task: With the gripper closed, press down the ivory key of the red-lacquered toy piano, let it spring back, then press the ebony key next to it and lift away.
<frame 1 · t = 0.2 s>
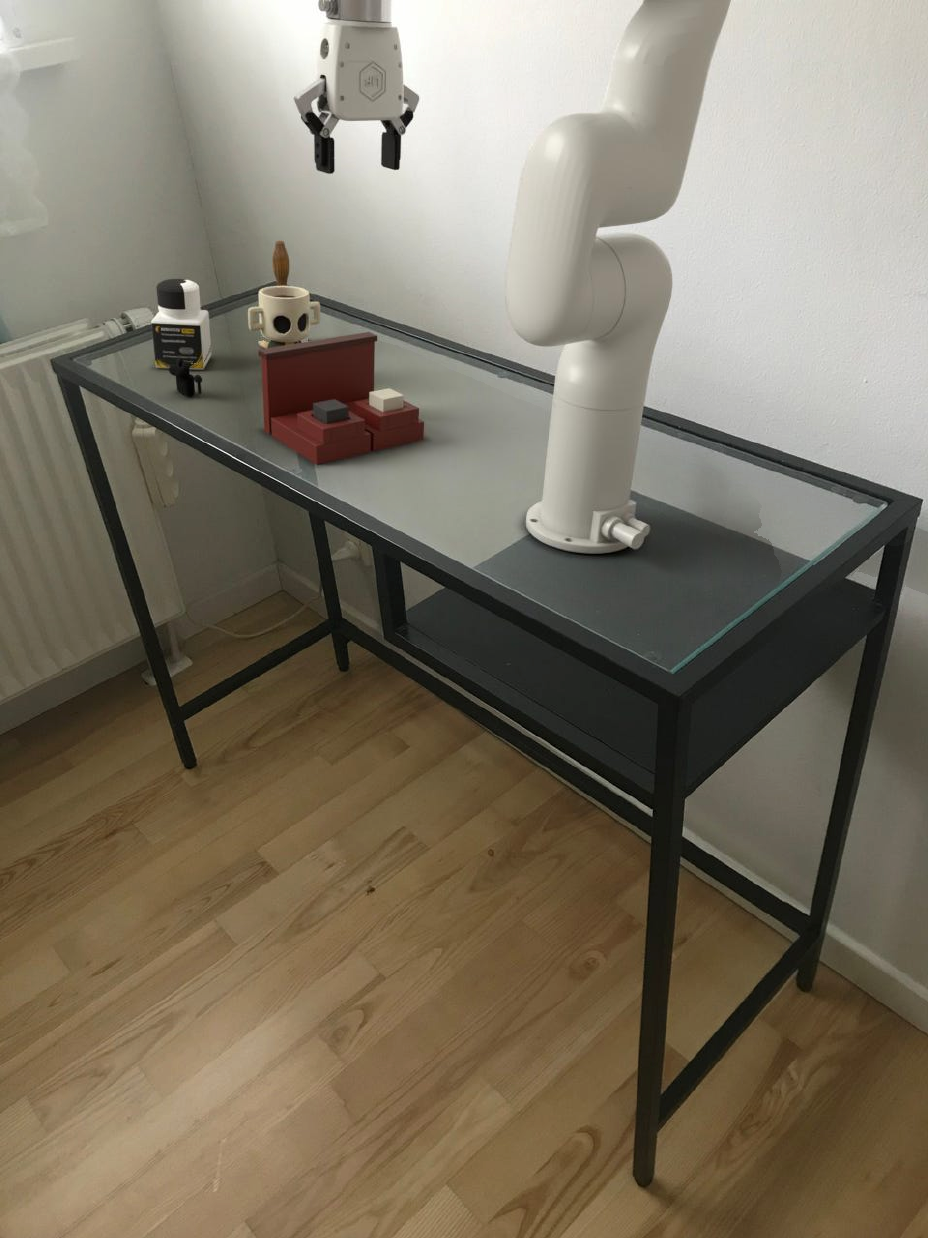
hand: (358, 169, 130), 31 cm above the table, tool pointing down, fingers open, 9 cm apart
medicine bottle: (184, 363, 158), on the table
hand bell: (284, 345, 169), on the table
character mug: (286, 382, 153), on the table
ebony key: (330, 412, 129), point 5 cm above the table, slide at 0.1 cm
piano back: (320, 421, 140), on the table
piano left: (320, 444, 134), on the table
piano right: (374, 431, 138), on the table
ivory key: (386, 400, 134), point 5 cm above the table, slide at 0.1 cm
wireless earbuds: (183, 396, 146), on the table
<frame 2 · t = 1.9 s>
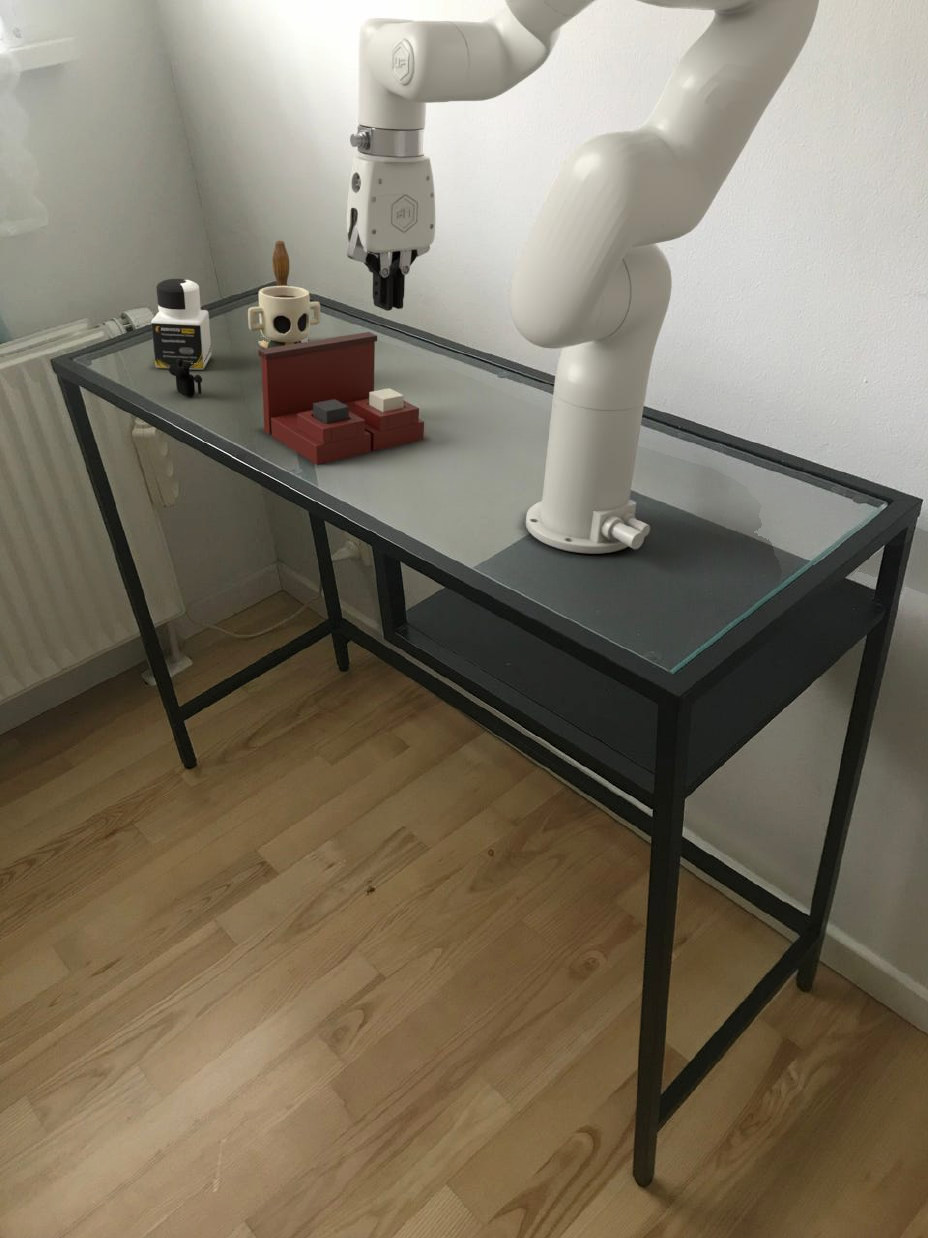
hand: (388, 306, 128), 17 cm above the table, tool pointing down, fingers closed
nothing on the table moved.
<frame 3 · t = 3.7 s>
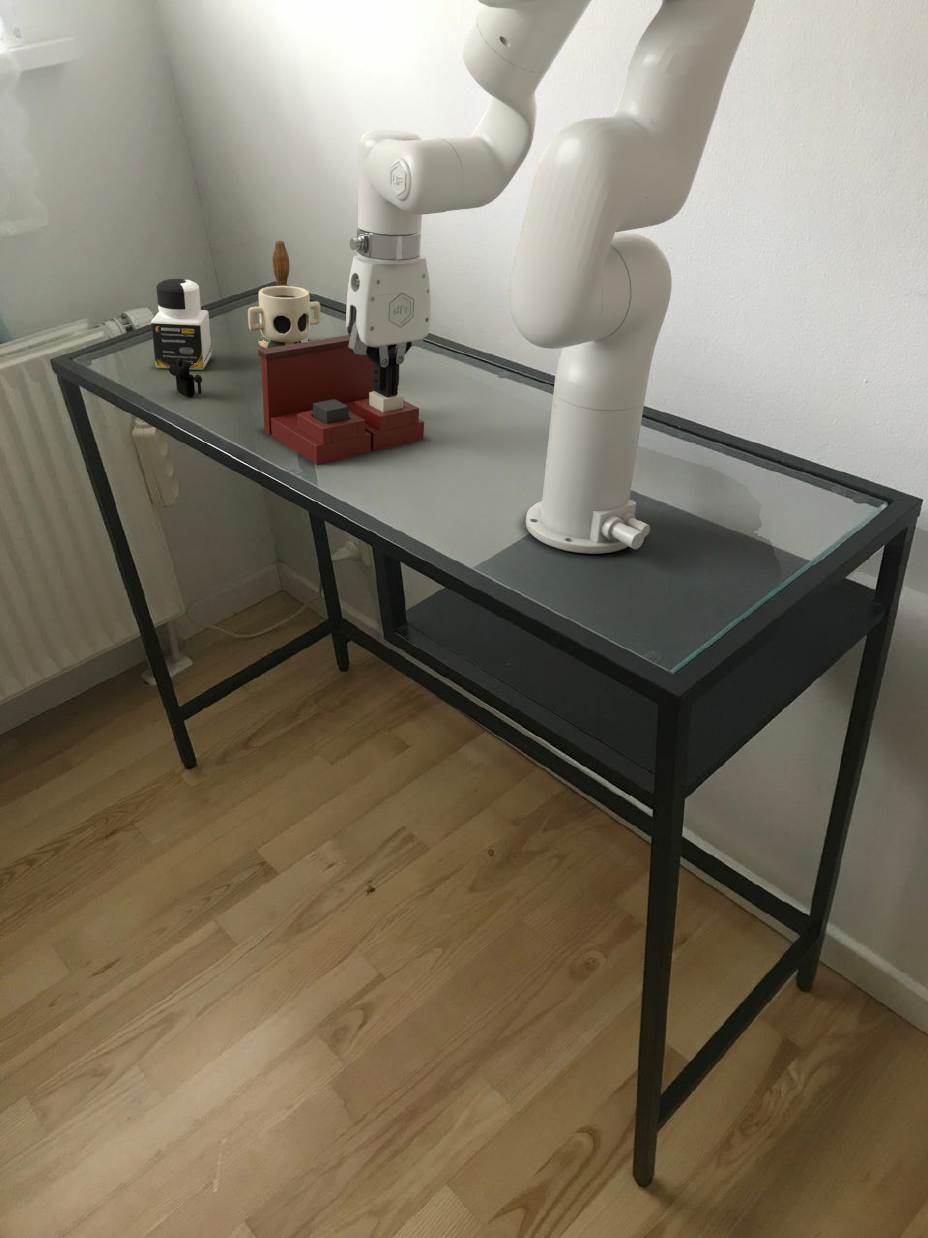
hand: (385, 392, 134), 6 cm above the table, tool pointing down, fingers closed
ivory key: (386, 400, 134), point 5 cm above the table, slide at 0.1 cm, touching gripper
everything else where it was.
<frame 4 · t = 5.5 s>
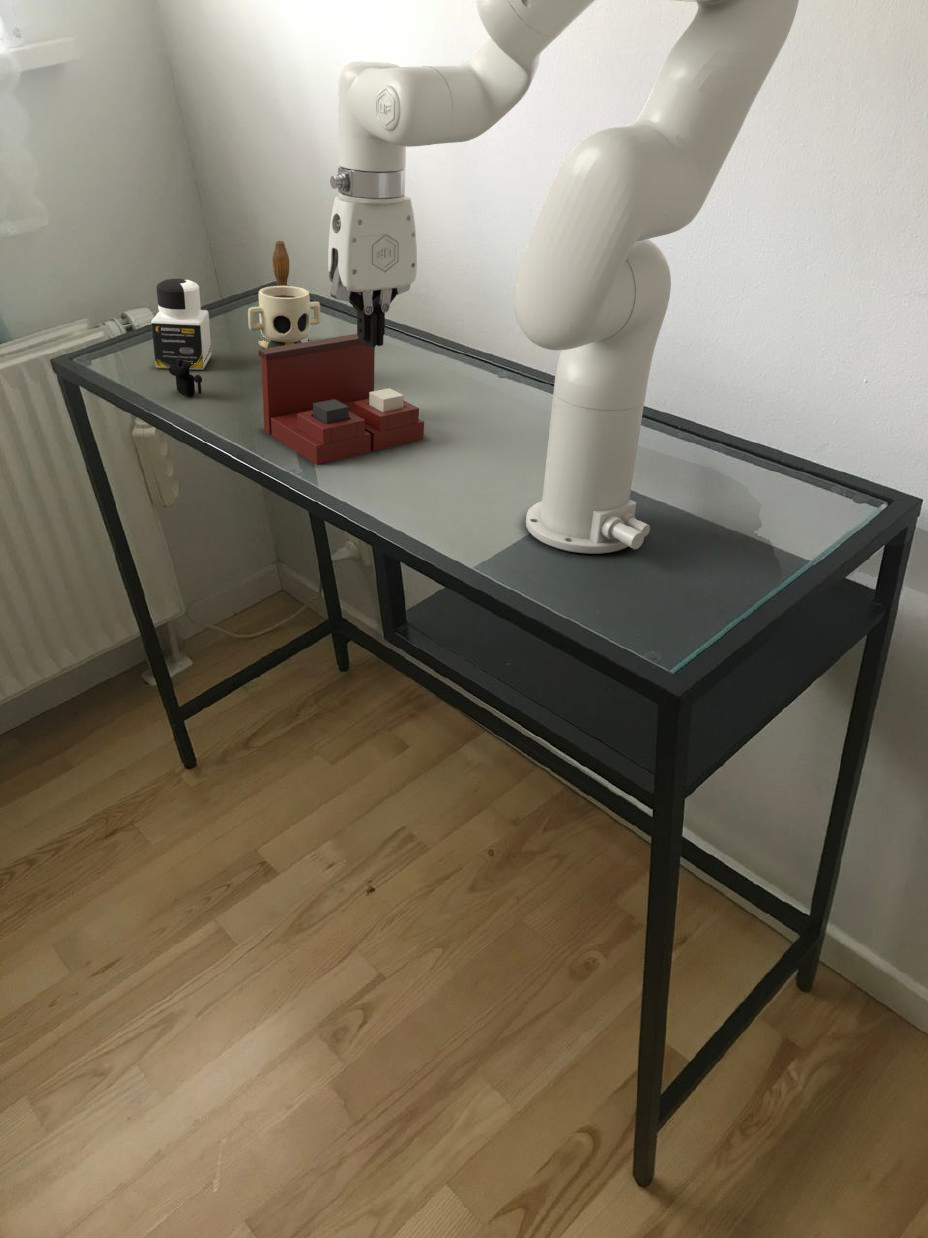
hand: (370, 343, 128), 13 cm above the table, tool pointing down, fingers closed
ivory key: (386, 400, 134), point 5 cm above the table, slide at 0.1 cm
everything else where it was.
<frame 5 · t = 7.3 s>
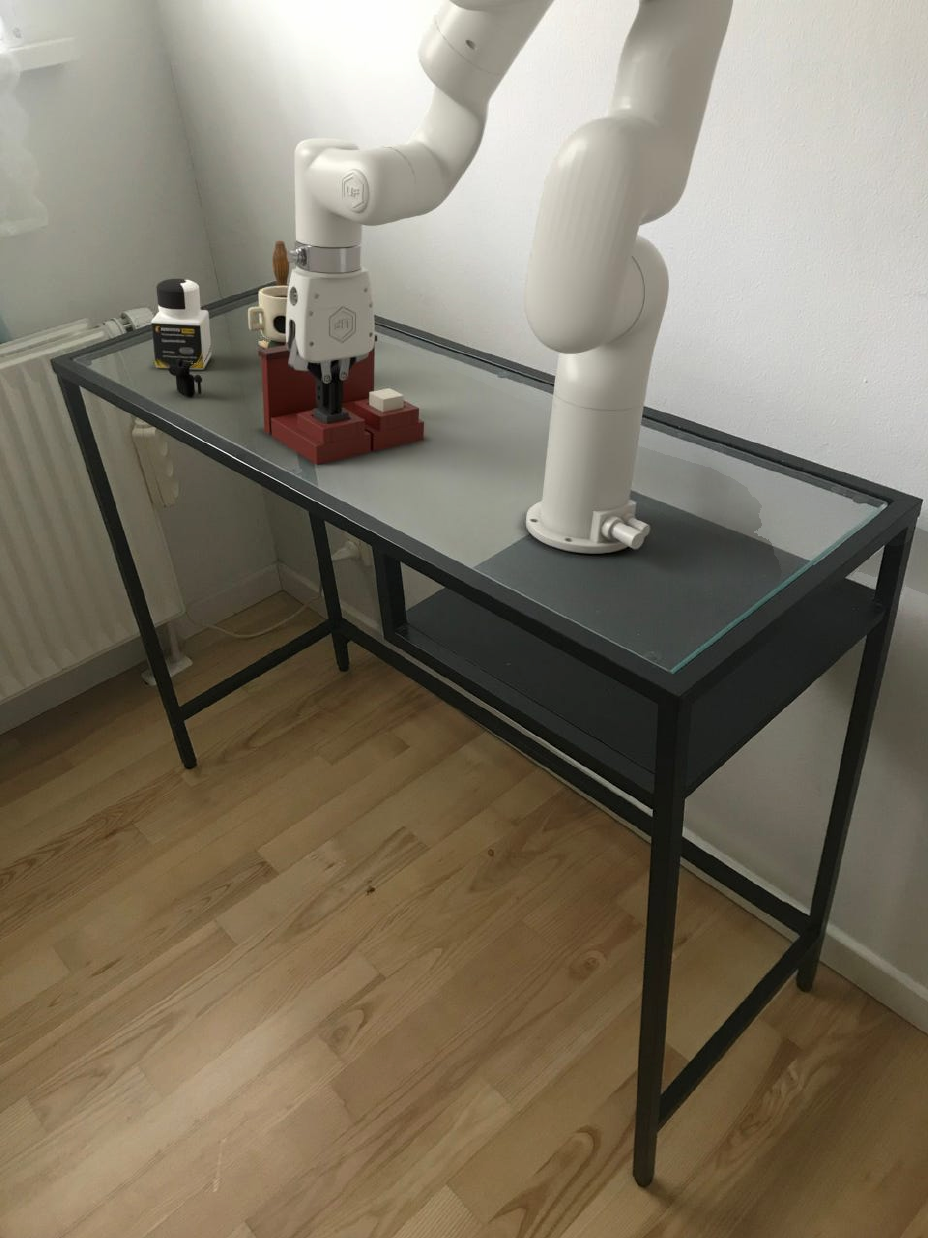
hand: (329, 409, 129), 5 cm above the table, tool pointing down, fingers closed
ebony key: (331, 417, 130), point 4 cm above the table, slide at -0.6 cm, touching gripper
everything else where it was.
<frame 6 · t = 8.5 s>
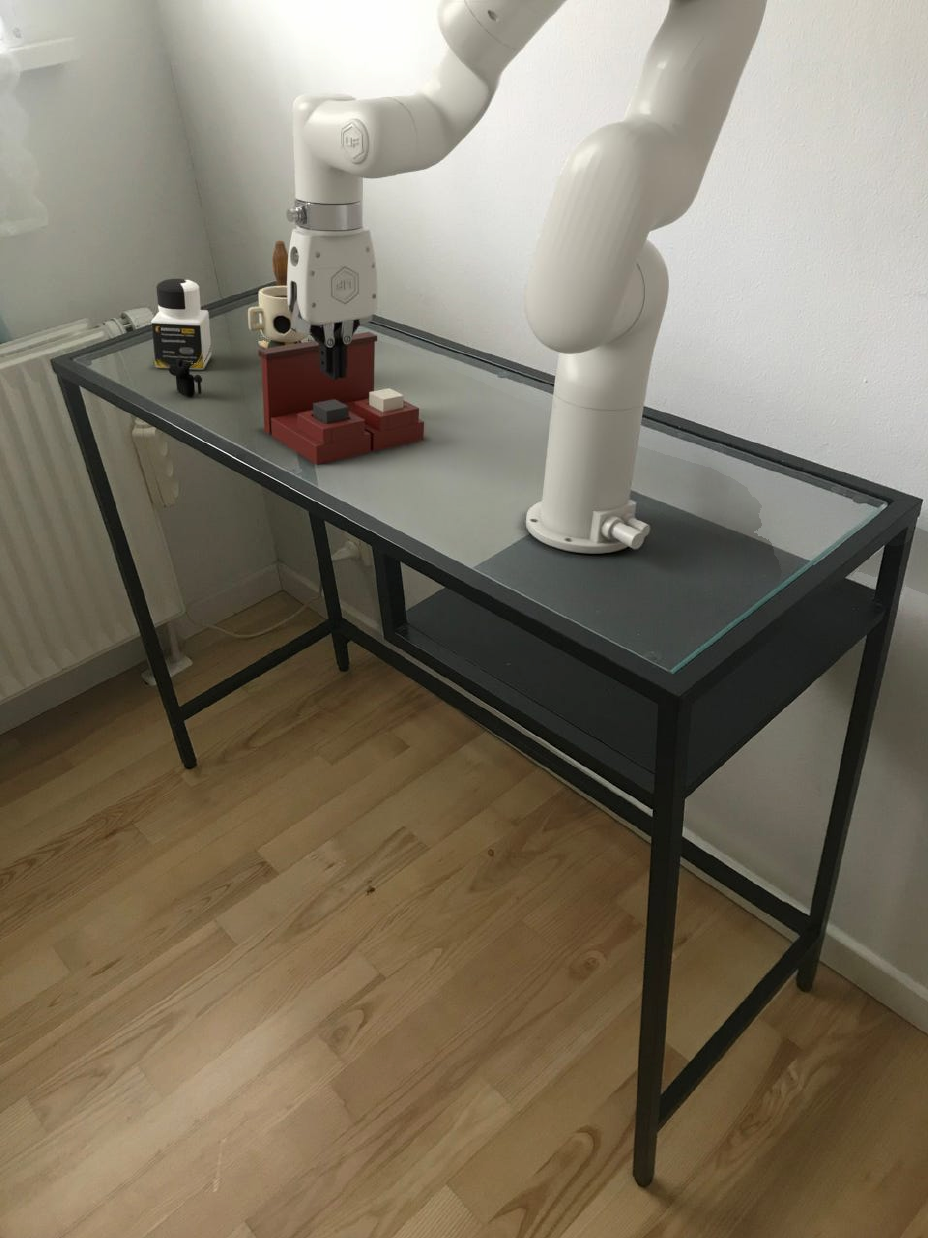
hand: (333, 375, 127), 10 cm above the table, tool pointing down, fingers closed
ebony key: (330, 412, 129), point 5 cm above the table, slide at 0.1 cm
everything else where it was.
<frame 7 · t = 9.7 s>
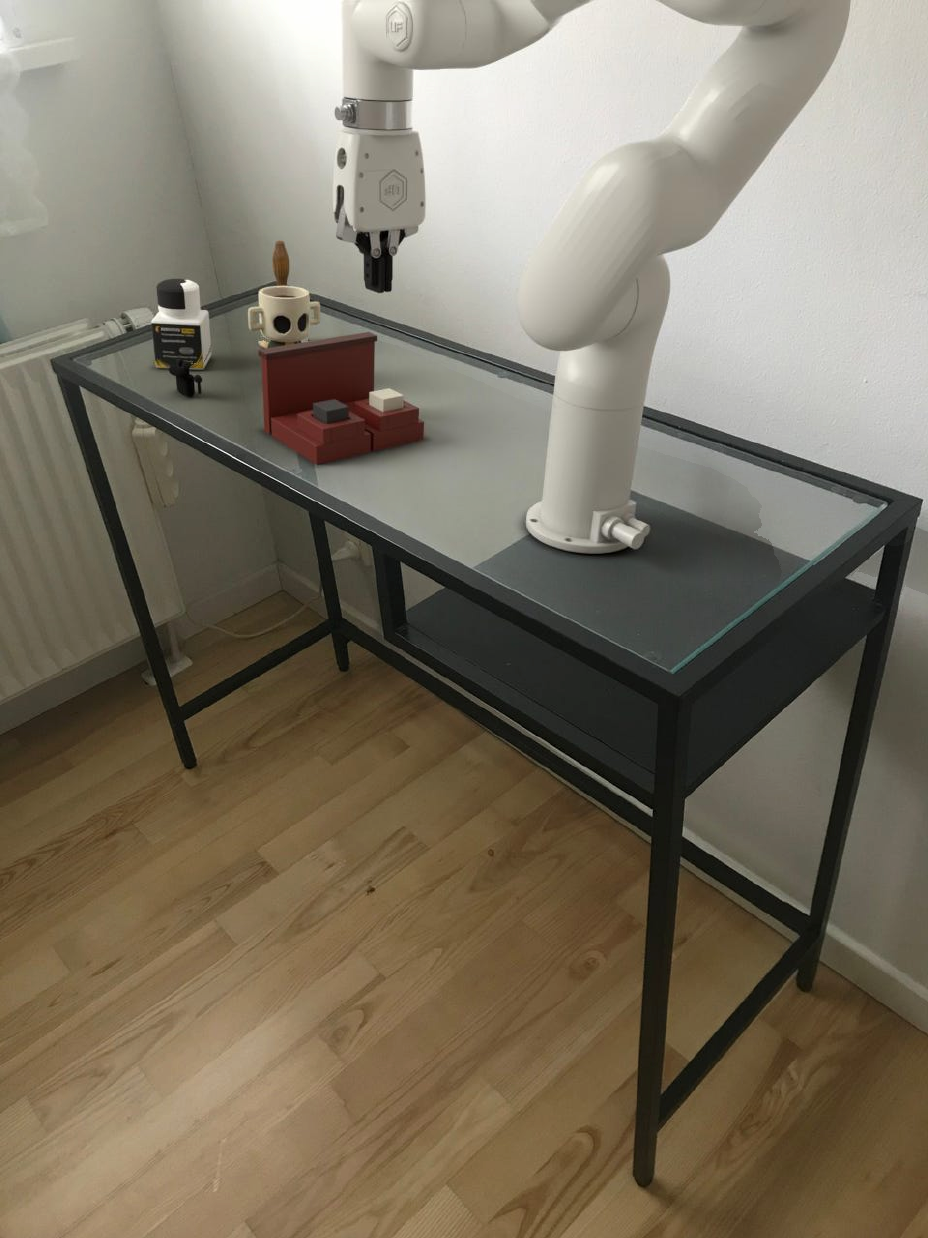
hand: (378, 289, 122), 20 cm above the table, tool pointing down, fingers closed
nothing on the table moved.
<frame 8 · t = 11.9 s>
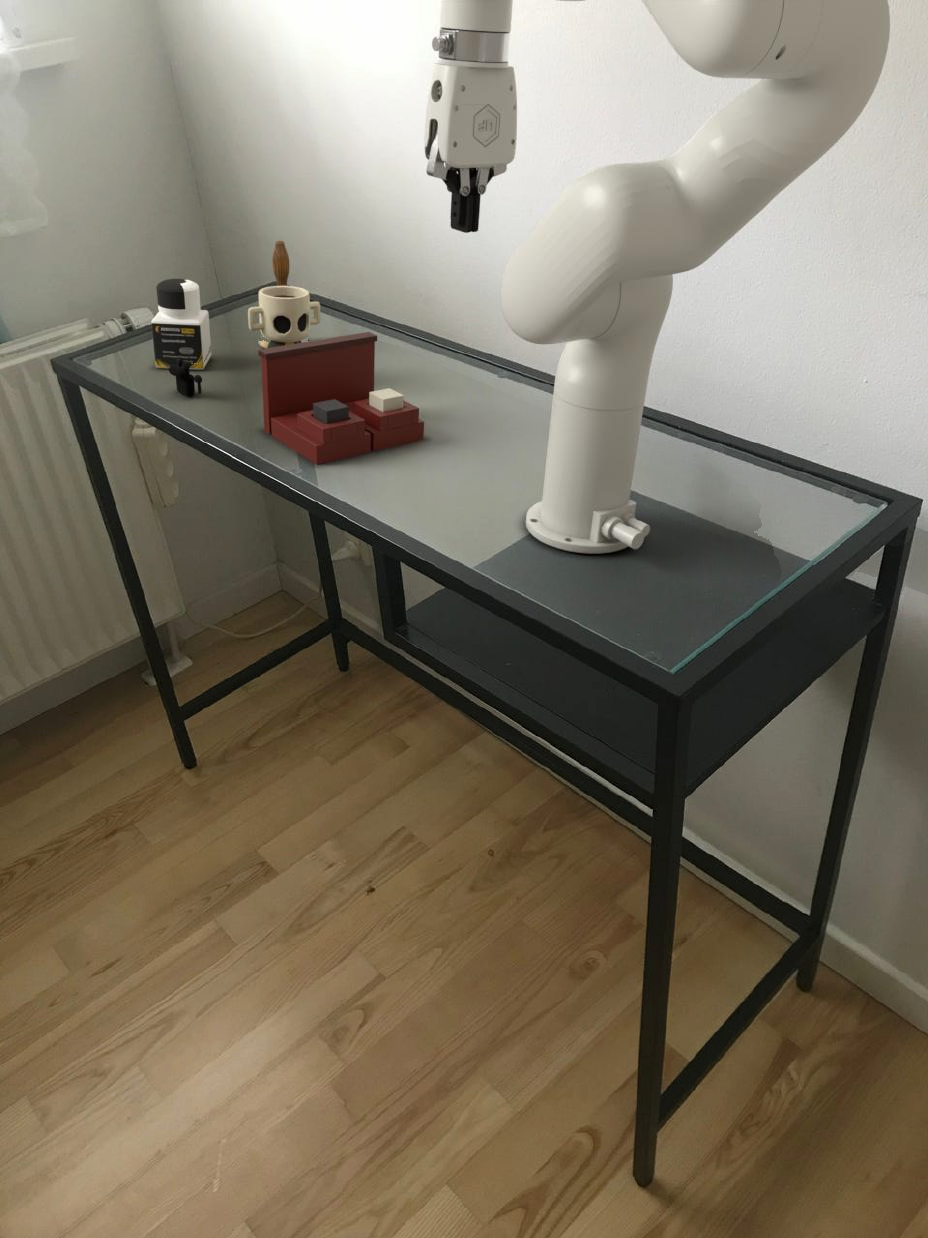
hand: (464, 229, 121), 27 cm above the table, tool pointing down, fingers closed
nothing on the table moved.
at the end: ivory key pushed in 1.0 cm at the most during the clip, back to where it started at the end; ebony key pushed in 1.0 cm at the most during the clip, back to where it started at the end; ebony key slide at 0.1 cm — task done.
